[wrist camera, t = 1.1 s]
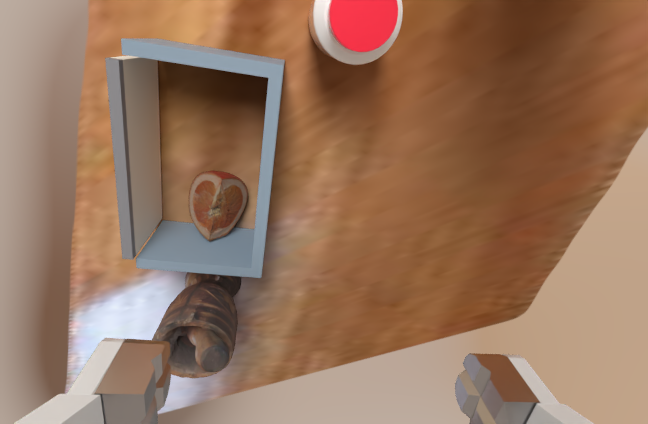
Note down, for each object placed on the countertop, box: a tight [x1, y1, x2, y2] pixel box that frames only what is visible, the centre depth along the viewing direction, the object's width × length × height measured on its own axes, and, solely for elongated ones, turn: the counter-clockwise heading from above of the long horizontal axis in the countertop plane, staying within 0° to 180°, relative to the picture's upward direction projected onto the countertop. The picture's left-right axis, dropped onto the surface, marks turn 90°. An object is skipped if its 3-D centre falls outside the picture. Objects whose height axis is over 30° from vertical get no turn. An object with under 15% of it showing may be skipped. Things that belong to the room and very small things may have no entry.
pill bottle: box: [309, 0, 403, 65], centre depth 33 cm, size 8×8×11 cm
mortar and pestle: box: [152, 272, 241, 378], centre depth 41 cm, size 12×9×20 cm
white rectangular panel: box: [105, 56, 162, 260], centre depth 38 cm, size 19×1×10 cm, turn 171°
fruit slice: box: [189, 171, 248, 241], centre depth 43 cm, size 8×7×5 cm
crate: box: [121, 39, 285, 278], centre depth 39 cm, size 22×13×9 cm, turn 171°
